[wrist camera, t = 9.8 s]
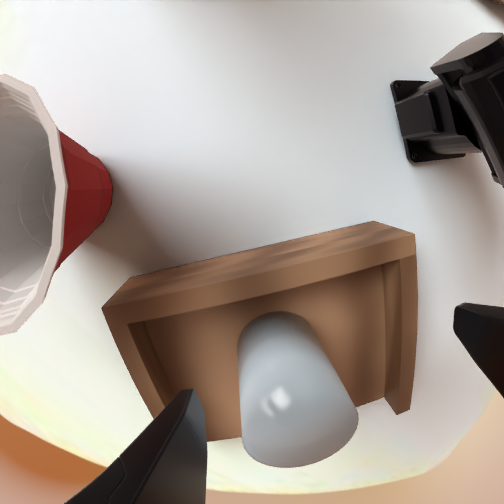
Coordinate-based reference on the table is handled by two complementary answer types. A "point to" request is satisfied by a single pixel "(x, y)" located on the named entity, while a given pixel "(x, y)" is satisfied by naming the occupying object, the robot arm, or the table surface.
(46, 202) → the plastic cup
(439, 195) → the table surface
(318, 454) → the grey rounded cone
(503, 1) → the plant saucer
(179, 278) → the wooden tray
